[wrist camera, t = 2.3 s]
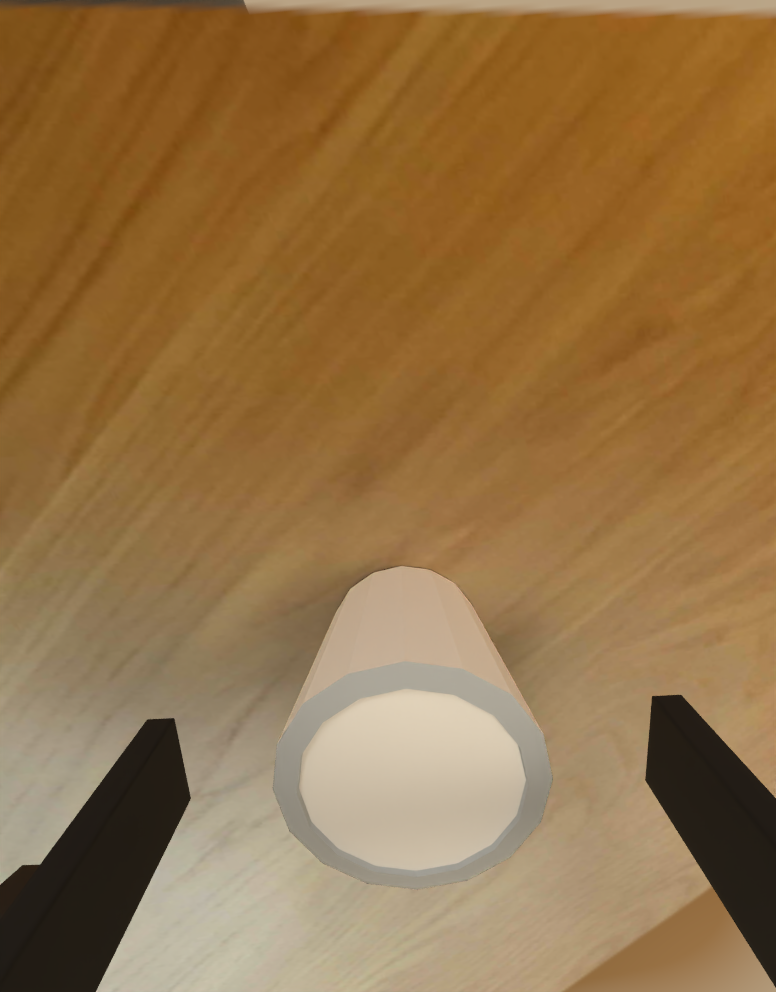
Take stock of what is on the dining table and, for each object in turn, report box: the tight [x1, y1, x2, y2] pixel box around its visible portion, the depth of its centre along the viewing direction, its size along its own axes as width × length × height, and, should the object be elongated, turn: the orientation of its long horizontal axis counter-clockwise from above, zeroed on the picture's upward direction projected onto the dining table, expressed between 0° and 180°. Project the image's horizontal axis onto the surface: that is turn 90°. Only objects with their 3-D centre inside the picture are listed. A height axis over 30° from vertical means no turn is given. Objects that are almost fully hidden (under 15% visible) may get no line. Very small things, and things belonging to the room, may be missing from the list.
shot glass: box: [273, 566, 553, 890], centre depth 15 cm, size 7×7×7 cm
